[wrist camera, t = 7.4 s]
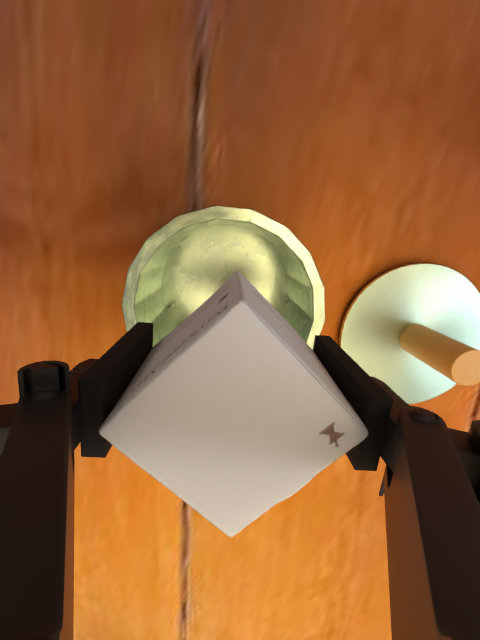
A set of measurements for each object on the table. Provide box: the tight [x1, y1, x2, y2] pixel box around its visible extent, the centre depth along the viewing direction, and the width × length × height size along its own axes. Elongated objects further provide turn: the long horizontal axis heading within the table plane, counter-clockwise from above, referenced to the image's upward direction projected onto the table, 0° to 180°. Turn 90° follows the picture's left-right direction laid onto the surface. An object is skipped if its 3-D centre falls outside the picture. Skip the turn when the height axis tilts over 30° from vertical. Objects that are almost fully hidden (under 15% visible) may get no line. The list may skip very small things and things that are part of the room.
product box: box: [99, 271, 368, 537], centre depth 13 cm, size 6×6×7 cm
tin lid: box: [339, 263, 480, 404], centre depth 28 cm, size 15×15×9 cm
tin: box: [122, 205, 325, 350], centre depth 26 cm, size 14×14×10 cm
